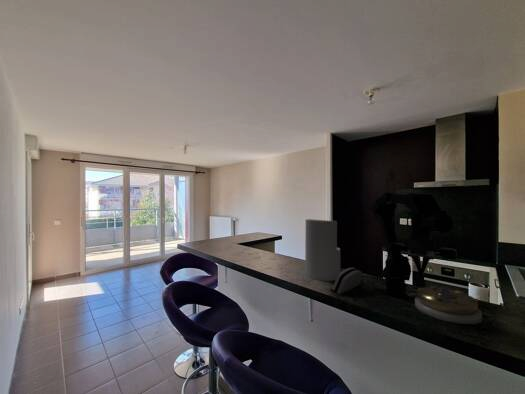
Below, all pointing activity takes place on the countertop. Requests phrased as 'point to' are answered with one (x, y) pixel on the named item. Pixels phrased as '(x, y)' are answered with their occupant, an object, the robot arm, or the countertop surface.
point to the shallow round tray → (448, 300)
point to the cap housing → (449, 314)
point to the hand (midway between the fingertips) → (421, 275)
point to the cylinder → (321, 250)
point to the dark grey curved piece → (347, 280)
